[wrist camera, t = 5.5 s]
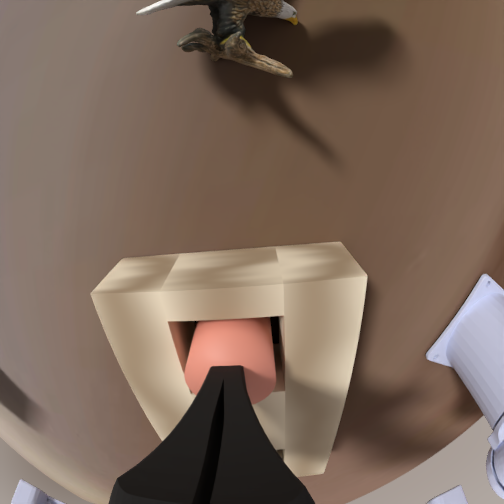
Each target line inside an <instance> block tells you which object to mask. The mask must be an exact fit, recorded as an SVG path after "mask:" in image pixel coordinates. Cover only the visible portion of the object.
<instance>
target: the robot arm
mask: <svg viewBox="0 0 504 504" xmlns="http://www.w3.org/2000/svg"><path fill="white" fill-rule="evenodd" d="M426 358H427V359H428V360H430V361H433V362H437V363H440V364H443V365H446V366H450V367H453V368H454V369H455V371H456V372H457V374H458V375H459V377H460V378H461V379H462V381H463V382H464V384H465V386H466V387H467V389H468V390H469V392H470V393H471V395H472V396H473V398H474V400H475V401H476V403H477V404H478V406H479V408H480V409H481V411H482V413H483V414H484V416H485V418H486V419H487V421H488V423H489V424H490V426H491V428H492V430H493V433H492V434H491V435H490V436H489V437H488V441H489V443H490V445H491V448H490V450H489V452H488V455H487V460H486V470H487V476H488V480H489V483H490V486H491V487H492V489H493V490H494V492H495V493H496V494H497V495H498V496H500V497H501V498H503V499H504V290H503V289H502V288H501V287H500V286H499V285H498V284H497V283H496V282H495V281H494V280H493V279H492V278H491V277H489V276H488V275H487V274H483V275H482V276H481V277H480V279H479V281H478V282H477V284H476V286H475V287H474V289H473V290H472V292H471V293H470V295H469V296H468V298H467V299H466V301H465V302H464V304H463V305H462V307H461V308H460V310H459V311H458V313H457V314H456V315H455V317H454V318H453V320H452V321H451V322H450V324H449V325H448V326H447V328H446V329H445V330H444V332H443V333H442V334H441V336H440V337H439V338H438V339H437V341H436V342H435V343H434V344H433V346H432V347H431V348H430V349H429V350H428V352H427V353H426ZM11 504H65V503H63V502H61V501H59V500H56V499H54V498H52V497H50V496H48V495H47V494H45V492H43V491H42V490H40V489H38V488H37V487H35V486H33V485H31V484H29V483H28V482H26V481H24V480H22V479H20V481H19V483H18V486H17V489H16V491H15V494H14V496H13V499H12V502H11ZM109 504H315V502H314V500H313V499H312V497H311V495H310V494H309V492H308V491H307V489H306V487H305V486H304V485H303V484H302V482H301V481H300V480H299V479H298V478H297V477H296V476H295V475H294V474H293V472H292V471H291V470H290V469H289V467H288V466H287V465H286V464H285V462H284V461H283V460H282V458H281V457H280V455H279V454H278V452H277V451H276V450H275V448H274V447H273V445H272V443H271V442H270V440H269V439H268V437H267V435H266V433H265V432H264V430H263V428H262V426H261V424H260V422H259V420H258V418H257V416H256V413H255V411H254V409H253V406H252V403H251V401H250V398H249V395H248V392H247V388H246V381H245V374H244V367H243V366H241V365H233V366H212V367H210V369H209V371H208V374H207V376H206V378H205V380H204V382H203V384H202V386H201V388H200V390H199V392H198V393H197V395H196V397H195V399H194V400H193V402H192V404H191V405H190V407H189V408H188V410H187V411H186V413H185V414H184V416H183V417H182V419H181V420H180V421H179V423H178V424H177V425H176V427H175V428H174V429H173V430H172V431H171V433H170V434H169V435H168V436H167V437H166V438H165V439H164V440H163V441H162V443H161V444H160V445H159V446H158V447H157V448H156V449H155V450H154V451H152V452H151V453H150V454H149V455H148V456H147V457H146V458H144V459H143V460H142V461H141V462H140V463H138V464H137V465H136V466H134V467H133V468H132V469H130V470H129V471H127V472H126V473H124V474H123V475H121V476H120V477H118V478H117V480H116V482H115V485H114V487H113V489H112V493H111V497H110V501H109ZM426 504H468V502H467V500H466V497H465V494H464V492H463V489H462V487H461V485H458V486H456V487H454V488H452V489H450V490H448V491H446V492H444V493H442V494H440V495H438V496H436V497H434V498H432V499H431V500H429V501H428V502H427V503H426Z"/></svg>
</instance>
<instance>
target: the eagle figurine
mask: <svg viewBox="0 0 504 504" xmlns="http://www.w3.org/2000/svg"><path fill="white" fill-rule="evenodd" d="M190 5H208V6H209V9H210V11H211V12H210V15H211V17H212V20H213V30H212V33H213V34H214V36H213V35H212V34H211V33H210V32H209V31H207V30H205V29H202V28H197V29H196V30H194V31H193V32H192V33H189V34H188V35H186V36H184V37H182V38H181V39H180V40H179V41H178V43H177V45H178V46H179V47H181V46H182V47H181V48H182V50H183V51H185V52H192V51H194V50H198V51H200V52H207V53H211V60H213V61H217V60H218V59H219V58H224V59H229V60H234V61H236V62H238V63H241V64H244V65H247V66H250V67H253V68H256V69H259V70H263V71H266V72H269V73H272V74H274V75H277V76H282V77H286V78H292V77H293V74H292V71H291V70H290V69H289V68H287V67H286V66H285V65H283V64H282V63H280V62H278V61H275V60H273V59H270V58H268V57H267V56H265V55H259V54H257V53H255V51H254V50H252V48H251V46H250V44H249V43H248V42H247V41H246V40H245V39H244V36H245V31H246V30H245V27H244V24H243V22H244V20H245V19H246V16H247V14H248V15H254V16H260V17H278V18H281V19H285V20H288V21H290V22H292V23H293V24H294V25H297V23H298V21H297V17H296V14H297V11H296V10H295V9H294V8H293V7H292V6H290V5H289V4H287V3H286V2H284V1H283V0H162V1H159V2H157V3H155V4H153V5H151V6H148V7H146V8H144V9H142V10H140V11H138V12H137V13H136V14H137V15H148V14H151V13H154V12H156V11H159V10H163V9H167V8H172V7H175V6H190ZM193 41H195V42H198V43H190V42H193ZM188 43H189V44H188ZM183 45H184V46H183Z"/></svg>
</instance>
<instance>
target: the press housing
mask: <svg viewBox="0 0 504 504" xmlns="http://www.w3.org/2000/svg"><path fill="white" fill-rule="evenodd" d="M366 285H367V275H366V273H365V272H364V271H363V269H362V268H361V267H360V266H359V264H358V263H357V262H356V260H355V259H354V258H353V257H352V255H351V254H350V253H349V252H348V250H347V249H346V248H345V247H344V245H343V244H342V243H341V242H329V243H315V244H301V245H288V246H274V247H261V248H248V249H235V250H221V251H208V252H196V253H183V254H170V255H157V256H144V257H132V258H122V259H121V260H120V262H119V263H118V264H117V265H116V266H115V267H114V268H113V269H112V270H111V271H110V272H109V273H108V275H107V276H106V277H105V278H104V279H103V280H102V281H101V282H100V283H99V285H98V286H97V287H96V288H95V289H94V290H93V291H92V293H91V296H92V299H93V302H94V305H95V308H96V310H97V313H98V315H99V318H100V321H101V323H102V326H103V328H104V331H105V333H106V335H107V338H108V340H109V342H110V345H111V347H112V349H113V351H114V354H115V356H116V358H117V360H118V362H119V364H120V366H121V369H122V371H123V373H124V375H125V377H126V379H127V381H128V383H129V385H130V387H131V388H132V390H133V392H134V394H135V396H136V398H137V400H138V401H139V403H140V405H141V407H142V409H143V410H144V412H145V414H146V416H147V417H148V419H149V421H150V422H151V424H152V426H153V427H154V429H155V430H156V432H157V434H158V435H159V437H160V438H161V440H162V441H163V440H164V439H165V438H166V437H167V436H168V435H169V434H170V433H171V431H172V430H173V429H174V428H175V427H176V425H177V424H178V423H179V421H180V420H181V419H182V417H183V416H184V414H185V413H186V411H187V410H188V408H189V407H190V405H191V404H192V402H193V400H194V399H195V397H196V395H195V394H194V393H193V392H192V391H191V390H190V389H189V387H188V386H187V384H186V382H185V377H184V373H185V368H186V364H187V360H188V356H189V352H190V347H191V343H192V339H193V336H194V332H195V328H196V327H195V323H194V321H201V320H224V319H242V318H257V317H271V316H278V324H279V343H278V344H273V351H274V361H275V371H276V385H275V388H274V390H273V391H272V392H271V394H270V395H269V396H268V397H266V398H265V399H264V400H262V401H260V402H258V403H256V404H253V405H252V406H253V409H254V411H255V413H256V416H257V418H258V420H259V422H260V424H261V426H262V428H263V430H264V432H265V433H266V435H267V437H268V439H269V440H270V442H271V443H272V445H273V447H274V448H275V450H277V452H278V454H279V455H280V457H281V458H282V460H283V461H284V462H285V464H286V465H287V466H288V467H289V469H290V470H291V471H292V472H293V474H294V475H295V476H296V477H302V476H310V475H317V474H323V473H324V471H325V468H326V465H327V462H328V459H329V456H330V453H331V450H332V446H333V443H334V440H335V437H336V433H337V430H338V426H339V423H340V419H341V416H342V412H343V408H344V404H345V400H346V396H347V392H348V388H349V383H350V379H351V375H352V370H353V365H354V360H355V355H356V350H357V345H358V339H359V333H360V327H361V321H362V315H363V308H364V301H365V293H366Z"/></svg>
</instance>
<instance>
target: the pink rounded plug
mask: <svg viewBox="0 0 504 504" xmlns="http://www.w3.org/2000/svg"><path fill="white" fill-rule="evenodd" d="M233 365H241V366H243V367H244V374H245V381H246V388H247V392H248V395H249V398H250V401H251V403H252V405H253V404H256V403H258V402H260V401H262V400H264V399H265V398H266V397H268V396H269V395H270V394H271V392H272V391H273V390H274V388H275V385H276V371H275V361H274V351H273V341H272V332H271V322H270V317H257V318H242V319H224V320H201V321H197V324H196V328H195V332H194V336H193V339H192V343H191V347H190V352H189V356H188V360H187V364H186V368H185V373H184V377H185V382H186V384H187V386H188V387H189V389H190V390H191V391H192V392H193V393H194V394H195V395H197V393H198V392H199V390H200V388H201V386H202V384H203V382H204V380H205V378H206V376H207V374H208V371H209V369H210V367H212V366H233Z"/></svg>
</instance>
